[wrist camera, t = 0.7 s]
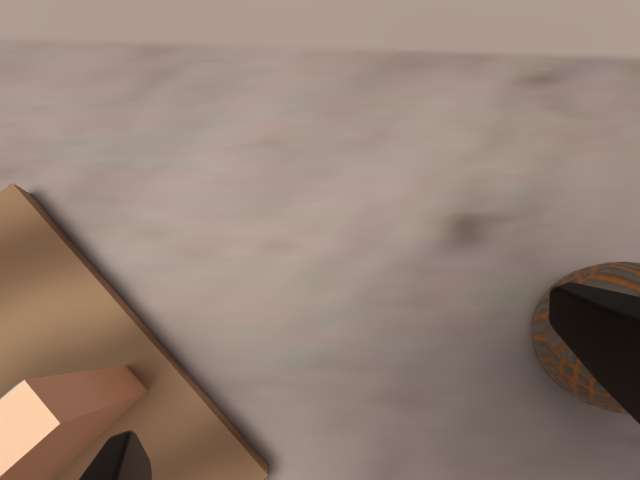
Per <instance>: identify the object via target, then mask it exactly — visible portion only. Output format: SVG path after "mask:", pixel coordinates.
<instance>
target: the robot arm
mask: <svg viewBox="0 0 640 480" xmlns="http://www.w3.org/2000/svg"><path fill="white" fill-rule="evenodd" d="M548 317H549V322H550V325H551V326H552V328H553V329H554V331H555V332H556V333H557V334H558V335H559V337H560V338H561V339H562V340H563V341H564V343H565V344H566V345H567V346H568V347H569V349H570V350H571V351H572V352H573V353H574V355H575V356H576V357H577V358H578V359H579V361H580V362H581V363H582V364H583V365H584V367H585V368H586V369H587V370H588V371H589V373H590V374H591V375H592V376H593V377H594V378H595V379H596V381H597V382H598V383H599V384H600V385H601V386H602V387H603V388H604V389H605V390H606V391H607V392H608V393H609V394H610V395H611V396H612V397H613V398H614V399H615V400H616V401H617V402H618V403H619V404H620V405H621V406H622V407H623V408H624V409H625V410H626V411H627V412H628V413H629V414H630V415H631V416H632V417H633V418H634V419H635V420H636V421H637V422H638V423H639V424H640V297H639V296H634V295H630V294H625V293H620V292H616V291H611V290H607V289H602V288H597V287H593V286H588V285H584V284H579V283H574V282H565V283H562V284H559V285H556V286H554V287H552V288H551V290H550V292H549V314H548ZM78 480H152V468H151V463H150V460H149V457H148V455H147V453H146V451H145V450H144V448H143V446H142V444H141V442H140V440H139V438H138V436H137V434H136V433H135V432H134V431H132V430H128V431H125V432H122V433H119V434H116V435H113V436H111V437H110V438H109V439H108V440H107V441H106V442H105V444H104V445H103V446H102V448H101V449H100V450H99V452H98V453H97V455H96V456H95V457H94V459H93V460H92V462H91V463H90V464H89V466H88V467H87V468H86V470H85V471H84V473H83V474H82V475H81V477H80V478H79V479H78Z"/></svg>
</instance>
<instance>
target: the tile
mask: <svg viewBox="0 0 640 480" xmlns="http://www.w3.org/2000/svg"><path fill="white" fill-rule="evenodd" d="M147 392H148V391H147V389H146V388H145V387H144V386H143V385H142V384H141V382H140V381H139V380H138V379H137V378H136V377H135V375H134V374H133V373H132V372H131V371H130V370H129V369H128V367H127V366H126V365H124V366H117V367H110V368H103V369H96V370H89V371H82V372H75V373H68V374H61V375H54V376H47V377H40V378H33V379H26V380H23V381H22V382H21V383H18V384H17V385H16V386H15V387H14V388H12V389H11V390H10V391H9V392H8V393H6V394H5V395H4V396H3V397H2V398H1V399H0V480H51V479H52V478H53V477H55V476H56V475H57V474H58V473H59V472H60V471H61V470H62V469H63V468H64V467H65V466H67V465H68V464H69V463H70V462H71V461H72V460H73V459H74V458H75V457H76V456H78V455H79V454H80V453H81V452H82V451H83V450H84V449H85V448H86V447H87V446H89V445H90V444H91V443H92V442H93V441H94V440H95V439H96V438H97V437H98V436H100V435H101V434H102V433H103V432H104V431H105V430H106V429H107V428H108V427H109V426H111V425H112V424H113V423H114V422H115V421H116V420H117V419H118V418H119V417H120V416H122V415H123V414H124V413H125V412H126V411H127V410H128V409H129V408H130V407H131V406H132V405H134V404H135V403H136V402H137V401H138V400H139V399H140V398H141V397H142V396H143V395H145V394H146V393H147Z"/></svg>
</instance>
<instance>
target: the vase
mask: <svg viewBox="0 0 640 480" xmlns="http://www.w3.org/2000/svg"><path fill="white" fill-rule="evenodd" d="M565 282H574V283H579V284H584V285H588V286H593V287H597V288H602V289H607V290H611V291H616V292H620V293H625V294H630V295H634V296H639V297H640V263H634V262H610V263H603V264H598V265H593V266H590V267H586V268H583V269H581V270H578V271H575V272H573V273H571V274H569V275H567V276H565V277H564V278H562V279H561V280H559V281H558V282H557V283H555V284H554V285H553V286H552V287H554V286H556V285H559V284H562V283H565ZM552 287H551V288H552ZM551 288H550V289H549V290H548V291H547V292H546V293H545V295H544V296H543V297H542V299H541V300H540V302H539V304H538V306H537V308H536V310H535V313H534V317H533V322H532V338H533V344H534V348H535V351H536V354H537V356H538V359H539V361H540V362H541V364H542V366H543V367H544V369H545V370H546V371H547V373H548V374H549V375H550V376H551V377H552V379H553V380H554V381H555V382H556V383H557V384H558V385H560V386H561V387H562V388H563V389H565V390H566V391H567V392H569V393H570V394H572V395H573V396H575V397H577V398H578V399H580V400H582V401H584V402H586V403H588V404H590V405H593V406H596V407H599V408H602V409H605V410H609V411H613V412H617V413H623V414H629V413H628V412H627V411H626V410H625V409H624V408H623V407H622V406H621V405H620V404H619V403H618V402H617V401H616V400H615V399H614V398H613V397H612V396H611V395H610V394H609V393H608V392H607V391H606V390H605V389H604V388H603V387H602V386H601V385H600V384H599V383H598V382H597V381H596V379H595V378H594V377H593V376H592V375H591V374H590V373H589V371H588V370H587V369H586V368H585V367H584V365H583V364H582V363H581V362H580V361H579V359H578V358H577V357H576V356H575V355H574V353H573V352H572V351H571V350H570V349H569V347H568V346H567V345H566V344H565V343H564V341H563V340H562V339H561V338H560V337H559V335H558V334H557V333H556V332H555V331H554V329H553V328H552V326H551V325H550V322H549V317H548V314H549V292H550V290H551ZM629 415H630V414H629Z"/></svg>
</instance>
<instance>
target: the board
mask: <svg viewBox="0 0 640 480" xmlns="http://www.w3.org/2000/svg"><path fill="white" fill-rule="evenodd" d="M124 365H126V366H127V367H128V369H129V370H130V371H131V372H132V373H133V374H134V375H135V377H136V378H137V379H138V380H139V381H140V382H141V384H142V385H143V386H144V387H145V388H146V389H147V391H148V392H147V393H146V394H145V395H143V396H142V397H141V398H140V399H139V400H138V401H137V402H136V403H135V404H134V405H132V406H131V407H130V408H129V409H128V410H127V411H126V412H125V413H124V414H123V415H122V416H120V417H119V418H118V419H117V420H116V421H115V422H114V423H113V424H112V425H111V426H109V427H108V428H107V429H106V430H105V431H104V432H103V433H102V434H101V435H100V436H98V437H97V438H96V439H95V440H94V441H93V442H92V443H91V444H90V445H89V446H87V447H86V448H85V449H84V450H83V451H82V452H81V453H80V454H79V455H78V456H76V457H75V458H74V459H73V460H72V461H71V462H70V463H69V464H68V465H67V466H65V467H64V468H63V469H62V470H61V471H60V472H59V473H58V474H57V475H56V476H55V477H53V478H52V479H51V480H78V479H79V478H80V477H81V475H82V474H83V473H84V471H85V470H86V468H87V467H88V466H89V464H90V463H91V462H92V460H93V459H94V457H95V456H96V455H97V453H98V452H99V450H100V449H101V448H102V446H103V445H104V444H105V442H106V441H107V440H108V439H109V438H110V437H111V436H113V435H116V434H119V433H122V432H125V431H128V430H132V431H134V432H135V433H136V434H137V436H138V438H139V440H140V442H141V444H142V446H143V448H144V450H145V451H146V453H147V455H148V457H149V460H150V463H151V468H152V480H264V479H265V478H266V477H267V476H268V471H269V466H268V465H267V464H266V463H265V462H264V460H263V459H262V458H261V457H260V456H259V455H258V454H257V452H256V451H255V450H254V449H253V448H252V447H251V446H250V444H249V443H248V442H247V441H246V440H245V439H244V438H243V436H242V435H241V434H240V433H239V432H238V431H237V430H236V428H235V427H234V426H233V425H232V424H231V423H230V422H229V420H228V419H227V418H226V417H225V416H224V415H223V414H222V413H221V411H220V410H219V409H218V408H217V407H216V406H215V405H214V403H213V402H212V401H211V400H210V399H209V398H208V397H207V395H206V394H205V393H204V392H203V391H202V390H201V389H200V387H199V386H198V385H197V384H196V383H195V382H194V381H193V379H192V378H191V377H190V376H189V375H188V374H187V373H186V371H185V370H184V369H183V368H182V367H181V366H180V365H179V364H178V362H177V361H176V360H175V359H174V358H173V357H172V356H171V354H170V353H169V352H168V351H167V350H166V349H165V348H164V346H163V345H162V344H161V343H160V342H159V341H158V340H157V338H156V337H155V336H154V335H153V334H152V333H151V332H150V330H149V329H148V328H147V327H146V326H145V325H144V324H143V322H142V321H141V320H140V319H139V318H138V317H137V316H136V315H135V313H134V312H133V311H132V310H131V309H130V308H129V307H128V305H127V304H126V303H125V302H124V301H123V300H122V299H121V297H120V296H119V295H118V294H117V293H116V292H115V291H114V289H113V288H112V287H111V286H110V285H109V284H108V283H107V281H106V280H105V279H104V278H103V277H102V276H101V275H100V273H99V272H98V271H97V270H96V269H95V268H94V267H93V266H92V264H91V263H90V262H89V261H88V260H87V259H86V258H85V256H84V255H83V254H82V253H81V252H80V251H79V250H78V248H77V247H76V246H75V245H74V244H73V243H72V242H71V240H70V239H69V238H68V237H67V236H66V235H65V234H64V232H63V231H62V230H61V229H60V228H59V227H58V226H57V224H56V223H55V222H54V221H53V220H52V219H51V218H50V217H49V215H48V214H47V213H46V212H45V211H44V210H43V209H42V207H41V206H40V205H39V204H38V203H37V202H36V201H35V199H34V198H33V197H32V196H31V195H30V194H29V193H28V192H26V191H25V190H23V189H21V188H20V187H18V186H16V185H15V184H13V183H12V184H11V185H10V186H8V187H7V188H6V189H4V190H3V191H1V192H0V399H1V398H2V397H3V396H4V395H5V394H6V393H8V392H9V391H10V390H11V389H12V388H14V387H15V386H16V385H17V384H18V383H21V382H22V381H23V380H26V379H33V378H40V377H47V376H54V375H61V374H68V373H75V372H82V371H89V370H96V369H103V368H110V367H117V366H124Z"/></svg>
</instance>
